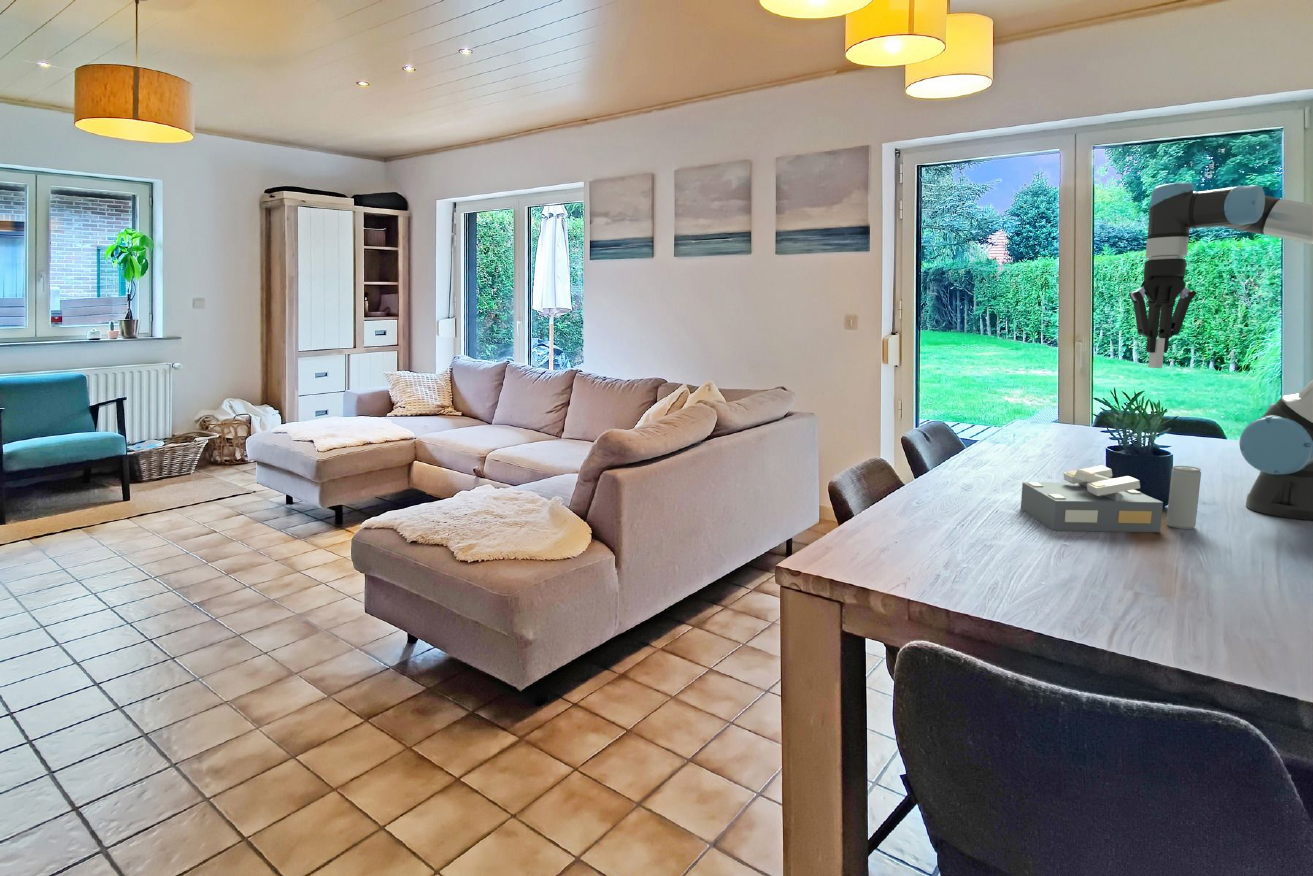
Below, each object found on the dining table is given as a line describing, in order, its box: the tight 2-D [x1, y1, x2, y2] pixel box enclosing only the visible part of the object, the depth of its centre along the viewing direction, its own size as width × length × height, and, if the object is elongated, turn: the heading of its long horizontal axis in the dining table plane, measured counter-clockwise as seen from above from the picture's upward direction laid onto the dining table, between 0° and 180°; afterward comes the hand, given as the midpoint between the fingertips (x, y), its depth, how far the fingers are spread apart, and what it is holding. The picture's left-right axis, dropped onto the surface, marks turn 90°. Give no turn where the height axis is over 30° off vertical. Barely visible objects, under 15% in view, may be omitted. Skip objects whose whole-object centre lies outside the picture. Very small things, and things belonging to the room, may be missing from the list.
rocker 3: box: [1087, 475, 1141, 496], centre depth 150 cm, size 8×4×2 cm, turn 83°
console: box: [1020, 481, 1164, 533], centre depth 156 cm, size 20×17×7 cm
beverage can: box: [1166, 465, 1202, 530], centre depth 150 cm, size 5×5×12 cm
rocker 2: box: [1075, 469, 1114, 483], centre depth 155 cm, size 8×4×2 cm, turn 86°
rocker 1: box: [1063, 465, 1113, 484], centre depth 161 cm, size 8×4×2 cm, turn 83°
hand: (1155, 367), depth 167 cm, fingers closed
